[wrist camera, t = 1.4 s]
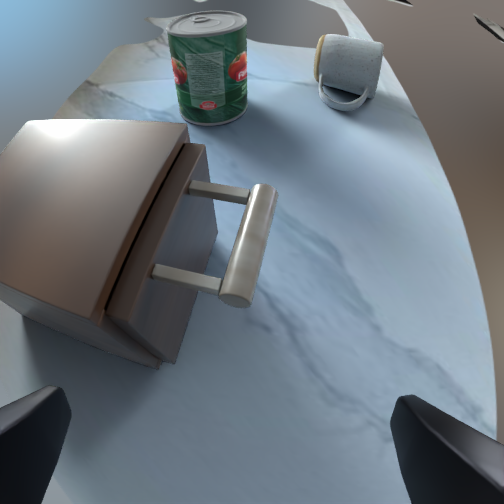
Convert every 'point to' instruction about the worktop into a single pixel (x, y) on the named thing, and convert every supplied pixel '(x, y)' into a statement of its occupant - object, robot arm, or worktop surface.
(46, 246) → the storage box
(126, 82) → the worktop surface
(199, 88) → the canned tomato
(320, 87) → the ceramic mug
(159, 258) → the drawer
